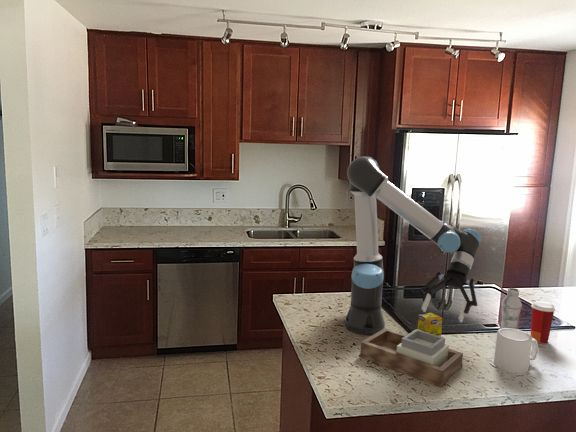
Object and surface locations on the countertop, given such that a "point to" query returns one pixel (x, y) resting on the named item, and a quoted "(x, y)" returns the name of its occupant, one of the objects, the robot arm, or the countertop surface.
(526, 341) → the mug
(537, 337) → the paper cup
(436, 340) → the stepped square pedestal
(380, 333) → the tray
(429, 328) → the supplement box
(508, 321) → the plastic bottle
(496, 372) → the countertop surface
